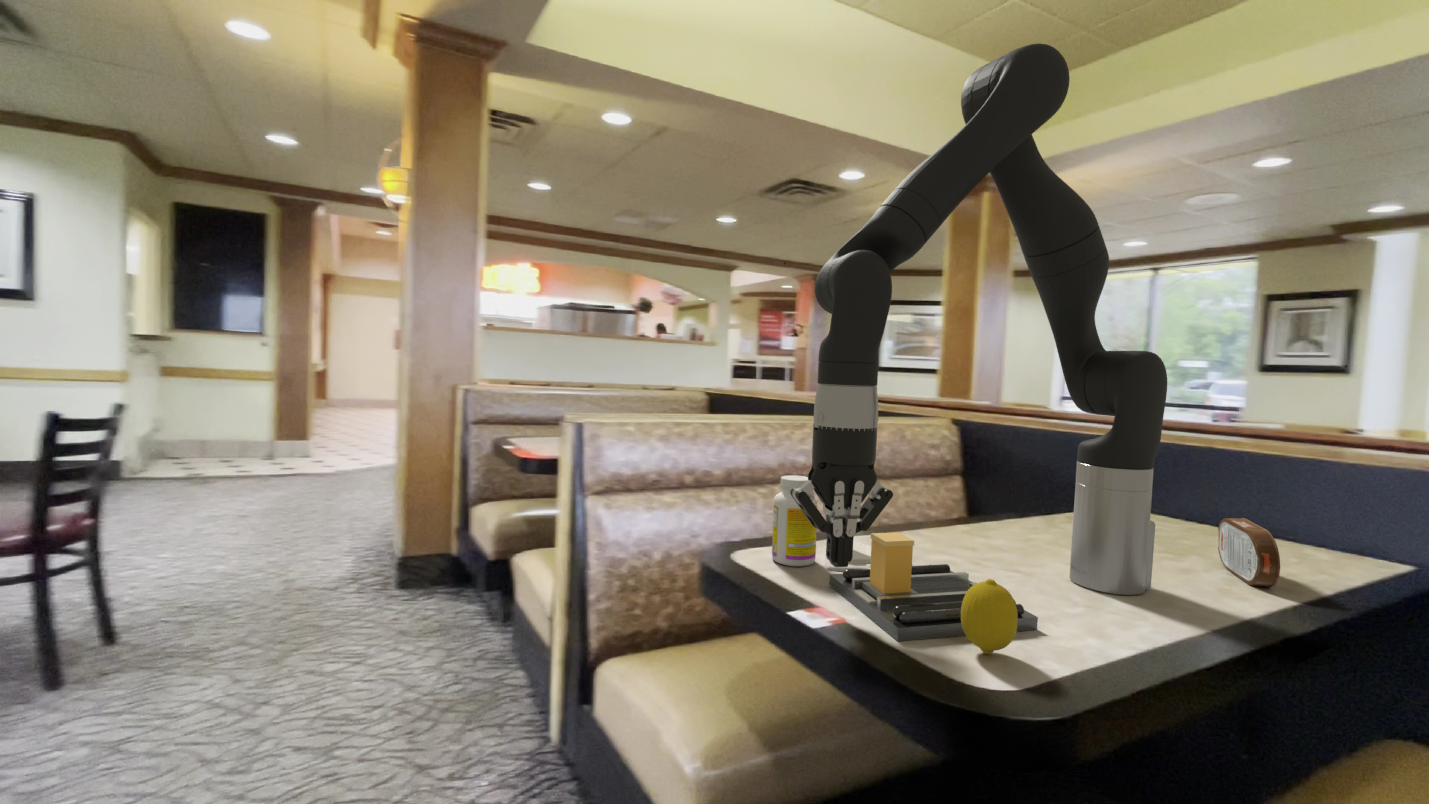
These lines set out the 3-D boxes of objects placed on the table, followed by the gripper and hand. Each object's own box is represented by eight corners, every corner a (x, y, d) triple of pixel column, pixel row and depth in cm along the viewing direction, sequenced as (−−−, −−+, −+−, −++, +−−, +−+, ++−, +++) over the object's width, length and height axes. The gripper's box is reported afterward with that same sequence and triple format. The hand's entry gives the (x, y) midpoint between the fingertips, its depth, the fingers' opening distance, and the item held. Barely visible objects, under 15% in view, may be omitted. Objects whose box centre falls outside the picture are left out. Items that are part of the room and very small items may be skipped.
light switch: (825, 532, 104) (906, 533, 102) (825, 557, 104) (907, 559, 102) (823, 551, 94) (914, 553, 91) (824, 579, 94) (915, 582, 91)
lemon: (1026, 665, 65) (1031, 588, 64) (974, 666, 64) (978, 588, 64) (998, 642, 70) (1002, 571, 70) (949, 642, 70) (953, 570, 69)
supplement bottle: (824, 562, 97) (827, 479, 97) (796, 570, 93) (799, 483, 92) (790, 552, 102) (793, 472, 101) (762, 559, 98) (765, 476, 97)
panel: (945, 578, 91) (946, 558, 91) (1036, 629, 74) (1038, 605, 74) (829, 585, 87) (830, 564, 87) (897, 641, 70) (898, 615, 69)
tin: (1280, 595, 89) (1285, 536, 88) (1252, 592, 90) (1257, 533, 89) (1235, 565, 103) (1239, 513, 102) (1212, 562, 104) (1215, 511, 104)
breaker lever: (897, 586, 82) (900, 531, 82) (917, 599, 77) (920, 541, 77) (862, 588, 81) (864, 532, 81) (880, 602, 76) (883, 543, 76)
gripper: (879, 420, 81) (873, 554, 82) (782, 419, 78) (776, 558, 79) (911, 426, 74) (903, 572, 75) (805, 425, 71) (798, 578, 72)
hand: (838, 565), depth 77 cm, fingers closed
